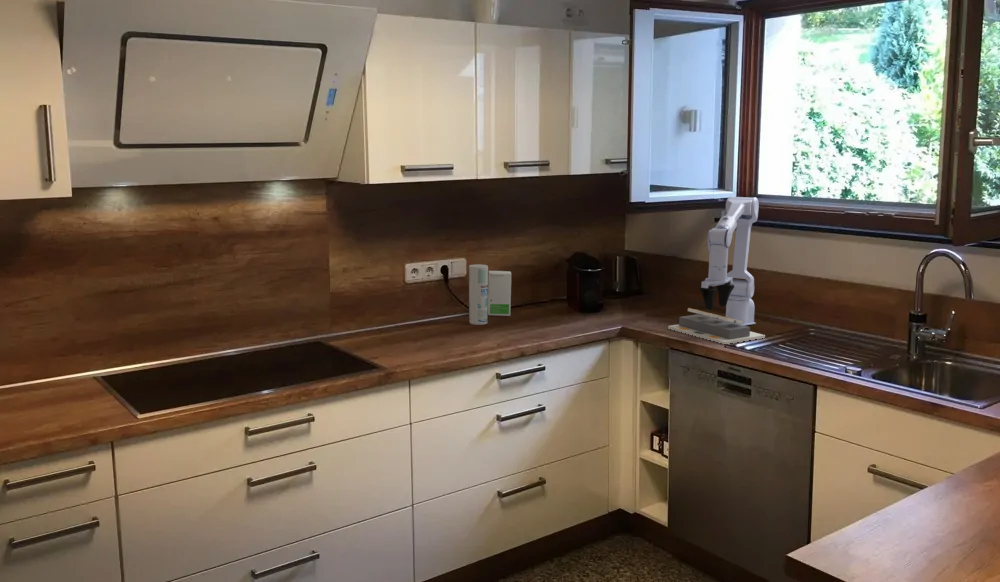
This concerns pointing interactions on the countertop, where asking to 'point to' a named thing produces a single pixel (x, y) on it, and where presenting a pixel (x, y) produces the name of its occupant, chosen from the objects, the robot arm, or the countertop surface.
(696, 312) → the rocker
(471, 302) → the spray can
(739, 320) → the block
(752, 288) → the robot arm
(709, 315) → the rocker
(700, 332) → the switch unit
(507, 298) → the skincare box
